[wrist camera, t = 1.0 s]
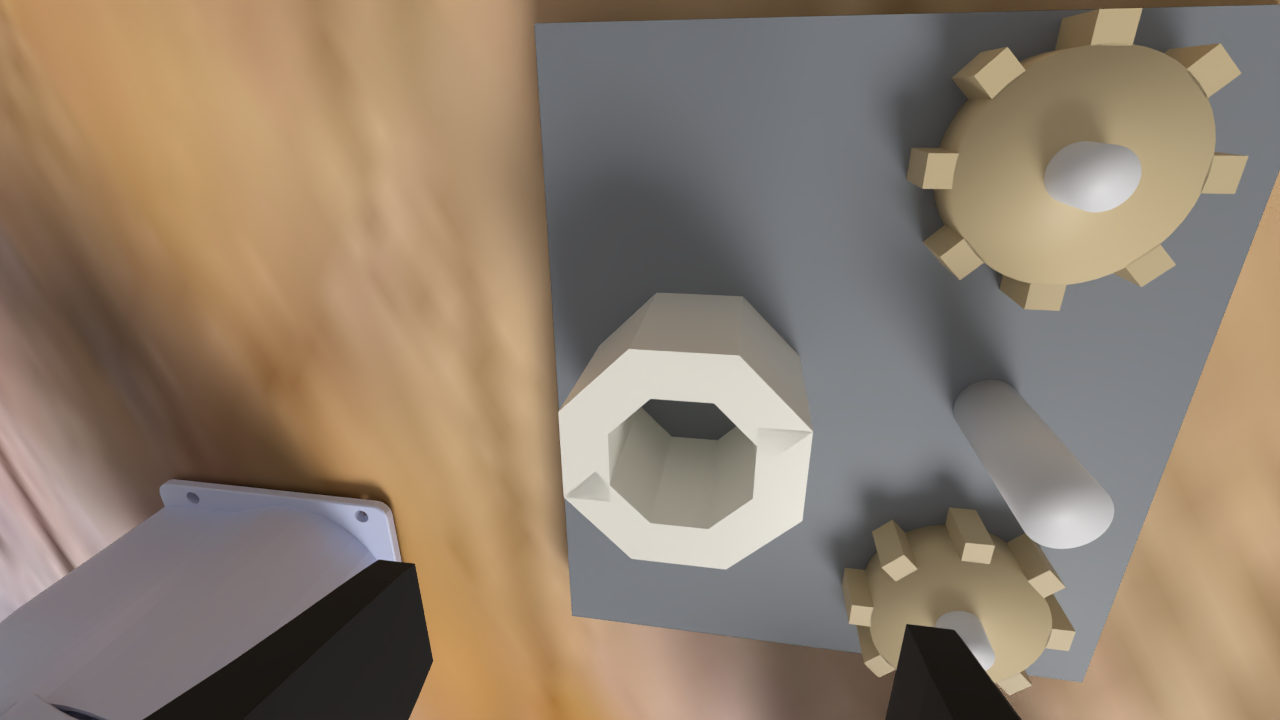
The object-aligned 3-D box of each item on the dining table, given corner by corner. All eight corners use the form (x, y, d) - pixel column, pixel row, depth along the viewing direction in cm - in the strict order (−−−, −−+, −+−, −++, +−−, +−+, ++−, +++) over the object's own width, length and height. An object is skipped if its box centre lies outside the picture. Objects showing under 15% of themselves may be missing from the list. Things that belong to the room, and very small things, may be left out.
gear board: (582, 584, 23) (528, 738, 17) (553, 30, 16) (445, -6, 10) (1060, 642, 20) (1173, 845, 15) (1282, 12, 13) (1659, -47, 8)
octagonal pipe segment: (603, 462, 19) (567, 551, 15) (598, 289, 16) (554, 344, 13) (787, 479, 18) (795, 577, 14) (806, 299, 16) (821, 360, 12)
